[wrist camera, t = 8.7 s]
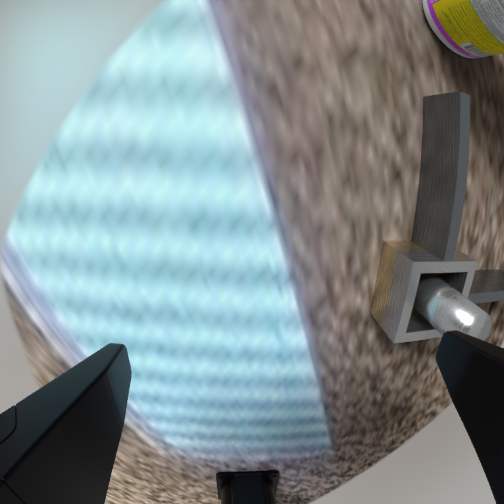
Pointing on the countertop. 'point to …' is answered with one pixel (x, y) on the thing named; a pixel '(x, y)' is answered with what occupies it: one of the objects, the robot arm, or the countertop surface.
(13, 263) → the countertop surface
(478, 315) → the hinge pin
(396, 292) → the hinge
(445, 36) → the supplement bottle
